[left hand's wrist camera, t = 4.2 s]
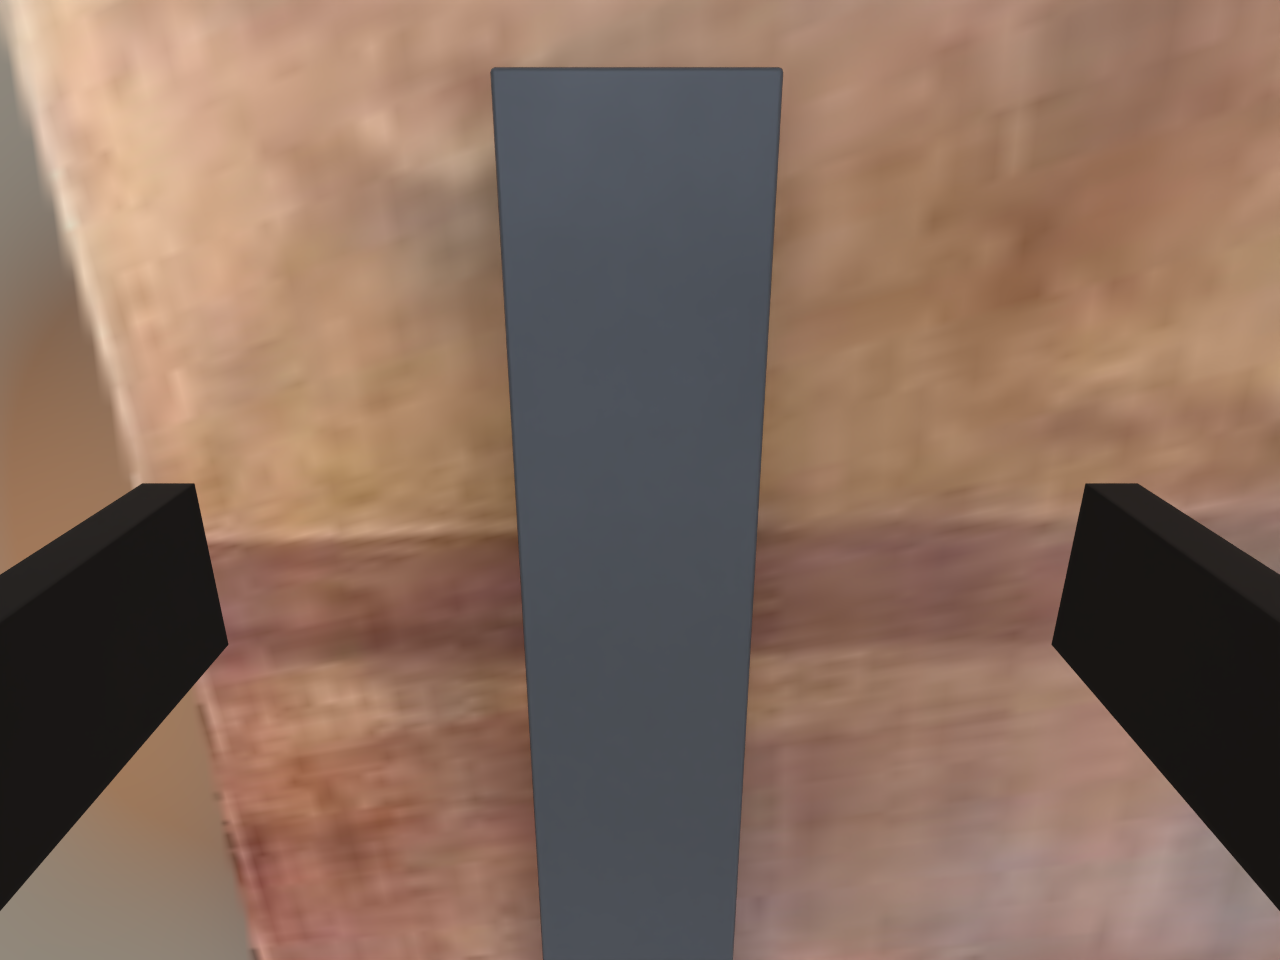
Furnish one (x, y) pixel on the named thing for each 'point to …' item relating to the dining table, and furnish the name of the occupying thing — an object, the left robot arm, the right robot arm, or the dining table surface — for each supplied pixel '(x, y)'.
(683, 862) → the beam
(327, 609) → the dining table surface
